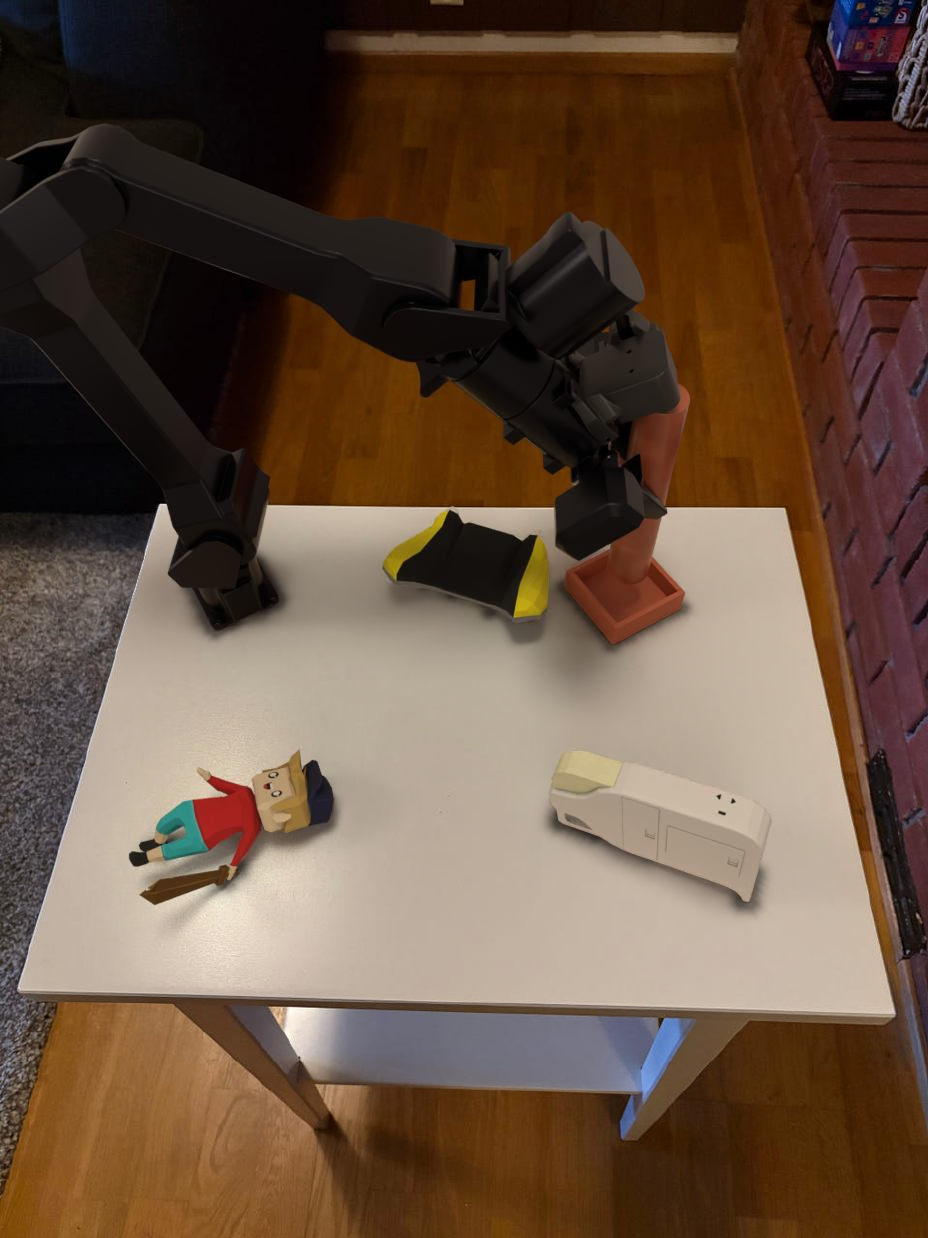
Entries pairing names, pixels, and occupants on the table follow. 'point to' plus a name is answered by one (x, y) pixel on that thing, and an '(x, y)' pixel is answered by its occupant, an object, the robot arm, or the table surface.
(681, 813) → the white device casing
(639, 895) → the table surface
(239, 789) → the toy
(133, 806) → the table surface
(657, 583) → the terracotta bin
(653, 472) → the terracotta peg
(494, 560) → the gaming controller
